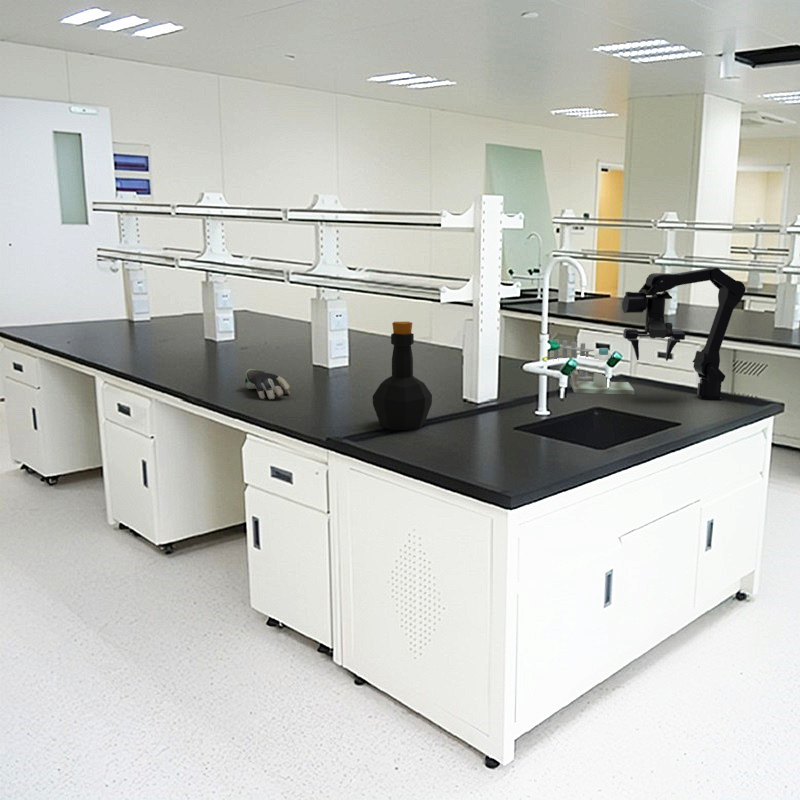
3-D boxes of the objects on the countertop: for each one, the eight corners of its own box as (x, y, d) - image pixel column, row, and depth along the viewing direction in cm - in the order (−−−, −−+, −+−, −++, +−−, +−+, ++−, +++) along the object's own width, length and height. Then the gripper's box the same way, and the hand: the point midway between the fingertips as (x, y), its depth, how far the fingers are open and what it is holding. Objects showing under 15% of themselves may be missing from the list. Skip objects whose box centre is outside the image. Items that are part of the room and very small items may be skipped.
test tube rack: (592, 378, 307) (594, 344, 304) (584, 380, 305) (586, 345, 302) (544, 369, 327) (545, 336, 324) (536, 370, 324) (537, 337, 322)
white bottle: (613, 385, 287) (615, 348, 284) (606, 387, 282) (608, 350, 280) (597, 383, 291) (599, 346, 288) (590, 385, 286) (591, 348, 283)
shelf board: (628, 386, 293) (629, 368, 291) (634, 394, 279) (635, 375, 278) (571, 385, 295) (571, 367, 294) (574, 392, 281) (575, 374, 280)
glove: (238, 397, 288) (264, 401, 266) (238, 368, 287) (263, 370, 265) (271, 396, 294) (299, 399, 272) (271, 368, 293) (298, 369, 272)
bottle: (398, 416, 248) (397, 317, 241) (441, 424, 237) (442, 321, 231) (362, 426, 236) (361, 322, 229) (407, 435, 225) (407, 327, 219)
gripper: (629, 315, 259) (626, 363, 262) (690, 315, 257) (686, 365, 260) (624, 311, 270) (621, 358, 273) (683, 312, 267) (679, 359, 271)
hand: (652, 360), depth 269 cm, fingers open, 9 cm apart
